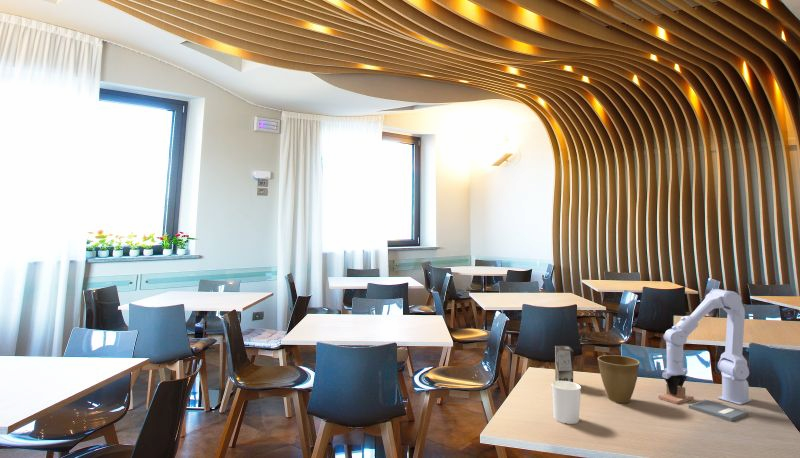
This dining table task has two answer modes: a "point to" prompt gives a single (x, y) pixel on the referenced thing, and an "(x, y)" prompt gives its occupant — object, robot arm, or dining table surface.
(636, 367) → the plant pot
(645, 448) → the dining table surface
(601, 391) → the dining table surface
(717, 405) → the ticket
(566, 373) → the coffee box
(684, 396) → the stub
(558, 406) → the candle holder
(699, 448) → the dining table surface
